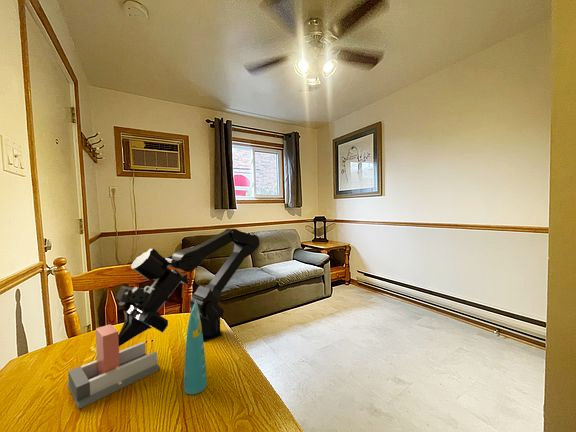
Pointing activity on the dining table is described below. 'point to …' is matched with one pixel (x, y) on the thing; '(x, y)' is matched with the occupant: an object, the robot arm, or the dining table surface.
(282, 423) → the dining table surface
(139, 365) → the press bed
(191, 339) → the tube
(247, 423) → the dining table surface
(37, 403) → the dining table surface
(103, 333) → the plug
